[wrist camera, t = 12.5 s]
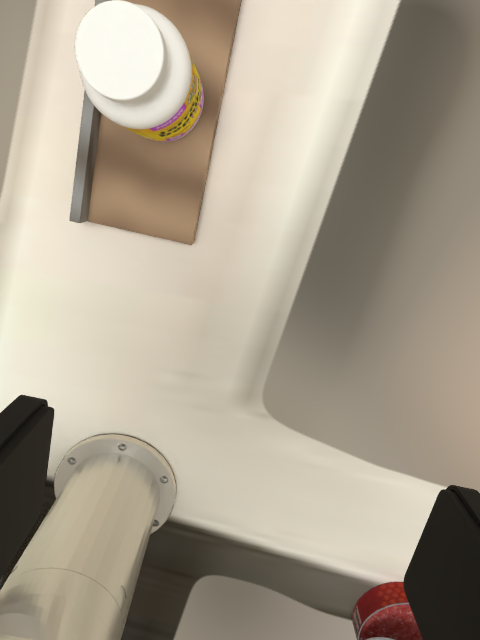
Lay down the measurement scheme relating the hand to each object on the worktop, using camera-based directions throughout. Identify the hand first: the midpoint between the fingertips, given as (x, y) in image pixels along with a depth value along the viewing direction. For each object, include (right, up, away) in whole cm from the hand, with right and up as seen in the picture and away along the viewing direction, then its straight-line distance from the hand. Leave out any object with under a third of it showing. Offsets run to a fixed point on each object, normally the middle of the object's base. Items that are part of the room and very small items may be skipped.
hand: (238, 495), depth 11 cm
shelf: (-7, +23, +27) cm, 36 cm away
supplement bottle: (-6, +22, +25) cm, 34 cm away
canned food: (+18, -30, +43) cm, 55 cm away
